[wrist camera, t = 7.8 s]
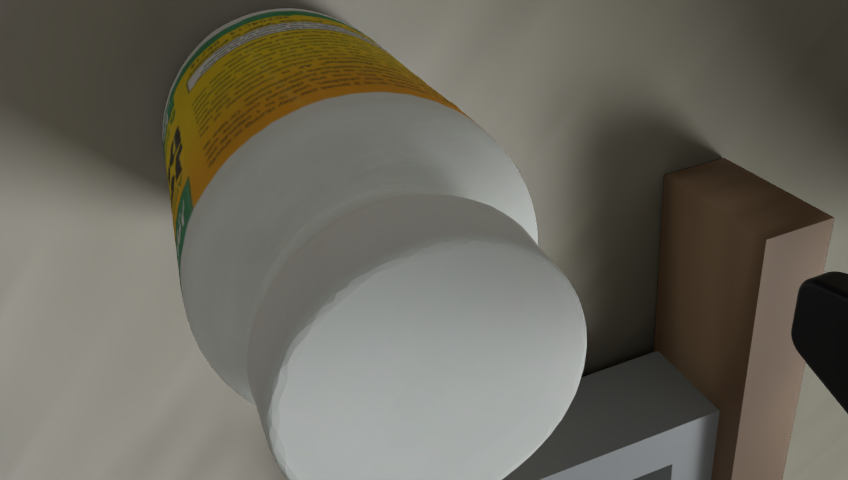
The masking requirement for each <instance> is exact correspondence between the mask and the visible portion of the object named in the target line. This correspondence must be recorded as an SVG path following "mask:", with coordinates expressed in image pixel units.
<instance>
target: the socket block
mask: <svg viewBox="0 0 848 480" xmlns="http://www.w3.org/2000/svg"><path fill="white" fill-rule="evenodd" d="M719 413H720V410H719V409H718V408H717V407H716V406H715V405H714V404H713V403H712V402H711V401H710V400H708V399H707V398H706V397H705V396H704V395H703V394H702V393H701V392H700V391H699V390H698V389H697V388H696V387H695V386H694V385H693V384H692V383H691V382H690V381H689V380H688V379H687V378H686V377H685V376H684V375H683V374H682V373H681V372H680V371H678V370H677V369H676V368H675V367H674V366H673V365H672V364H671V363H670V362H669V361H668V360H667V359H666V358H665V357H664V356H663V355H662V354H661V353H660V352H659V351H655V352H652V353H650V354H647V355H644V356H641V357H638V358H635V359H633V360H630V361H627V362H624V363H621V364H618V365H616V366H613V367H610V368H607V369H604V370H601V371H599V372H596V373H593V374H590V375H587V376H584V377H582V378H581V380H580V383H579V386H578V389H577V391H576V394H575V396H574V398H573V400H572V402H571V404H570V406H569V408H568V410H567V411H566V413H565V415H564V417H563V418H562V420H561V421H560V423H559V424H558V425H557V426H556V428H555V429H554V431H553V432H552V433H551V435H550V436H549V437H548V438H547V439H546V440H545V441H544V443H543V444H542V445H541V446H540V447H539V448H538V449H537V450H536V451H535V452H534V453H533V454H532V455H531V456H530V457H529V458H528V459H527V460H525V461H524V462H523V463H522V464H521V465H520V466H519V467H517V468H516V469H515V470H514V471H512V472H511V473H510V474H508V475H507V476H506V477H505V478H503V479H502V480H711V477H712V469H713V461H714V453H715V445H716V437H717V429H718V421H719Z"/></svg>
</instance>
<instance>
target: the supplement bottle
mask: <svg viewBox="0 0 848 480" xmlns="http://www.w3.org/2000/svg"><path fill="white" fill-rule="evenodd" d="M162 135H163V147H164V156H165V162H166V170H167V178H168V185H169V191H170V201H171V209H172V215H173V226H174V234H175V242H176V249H177V260H178V267H179V276H180V285H181V291H182V297H183V302H184V306H185V310H186V314H187V318H188V321H189V324H190V327H191V330H192V333H193V335H194V337H195V340H196V342H197V344H198V346H199V348H200V350H201V351H202V353H203V354H204V356H205V358H206V359H207V361H208V362H209V364H210V365H211V367H212V368H213V369H214V370H215V371H216V373H217V374H218V375H219V376H220V377H221V379H222V380H223V381H224V382H225V383H226V384H228V385H229V386H230V387H231V388H232V389H233V390H234V391H235V392H237V393H238V394H239V395H240V396H242V397H243V398H245V399H246V400H248V401H249V402H251V403H252V404H254V405H256V406H257V410H258V413H259V416H260V420H261V423H262V427H263V430H264V433H265V436H266V439H267V442H268V445H269V447H270V450H271V452H272V454H273V456H274V459H275V461H276V463H277V464H278V466H279V468H280V469H281V471H282V472H283V474H284V475H285V476H286V478H287V479H288V480H502V479H503V478H505V477H506V476H507V475H508V474H510V473H511V472H512V471H514V470H515V469H516V468H517V467H519V466H520V465H521V464H522V463H523V462H524V461H525V460H527V459H528V458H529V457H530V456H531V455H532V454H533V453H534V452H535V451H536V450H537V449H538V448H539V447H540V446H541V445H542V444H543V443H544V441H545V440H546V439H547V438H548V437H549V436H550V435H551V433H552V432H553V431H554V429H555V428H556V426H557V425H558V424H559V423H560V421H561V420H562V418H563V417H564V415H565V413H566V411H567V410H568V408H569V406H570V404H571V402H572V400H573V398H574V396H575V394H576V391H577V389H578V386H579V383H580V380H581V375H582V372H583V369H584V364H585V357H586V349H587V331H586V323H585V317H584V313H583V310H582V307H581V303H580V301H579V298H578V296H577V294H576V292H575V290H574V288H573V287H572V285H571V283H570V281H569V279H568V278H567V277H566V276H565V275H564V273H563V272H562V271H561V270H560V269H559V268H558V266H557V265H556V264H555V263H554V262H553V261H552V260H551V259H550V258H549V257H548V256H547V255H546V254H545V253H544V252H543V251H542V250H541V249H540V248H539V247H538V232H537V224H536V218H535V212H534V208H533V204H532V200H531V198H530V195H529V192H528V190H527V187H526V185H525V183H524V181H523V179H522V177H521V175H520V172H519V171H518V169H517V168H516V166H515V165H514V163H513V162H512V160H511V159H510V157H509V156H508V155H507V153H506V152H505V151H504V150H503V149H502V147H501V146H500V145H499V144H498V143H497V142H496V141H495V140H494V139H493V138H492V137H491V136H490V135H489V134H488V133H487V132H486V131H485V130H484V129H482V128H481V127H480V126H479V125H478V124H477V123H475V122H474V121H473V120H472V119H471V118H469V117H468V116H467V115H466V114H464V113H463V112H462V111H461V110H460V109H459V108H458V107H457V106H456V105H454V104H453V103H451V102H449V101H448V100H447V99H445V98H444V97H443V96H442V95H440V94H439V93H438V92H436V91H435V90H434V89H432V88H431V87H430V86H428V85H427V84H426V83H425V82H424V81H423V80H421V79H420V78H419V77H418V76H416V75H415V74H413V73H412V72H411V71H410V70H408V69H407V68H406V67H405V66H404V65H402V64H401V63H400V62H399V61H397V60H396V59H395V58H394V57H393V56H392V55H391V54H389V53H388V52H387V51H386V50H384V49H383V48H382V47H380V46H379V45H378V44H377V43H375V42H374V41H373V40H372V39H370V38H369V37H367V36H366V35H365V34H363V33H362V32H360V31H359V30H357V29H356V28H354V27H352V26H351V25H349V24H347V23H345V22H343V21H341V20H339V19H336V18H334V17H331V16H329V15H326V14H322V13H319V12H315V11H310V10H304V9H295V8H278V9H270V10H264V11H259V12H255V13H251V14H248V15H245V16H242V17H240V18H237V19H235V20H233V21H231V22H229V23H227V24H225V25H223V26H221V27H219V28H218V29H216V30H215V31H213V32H212V33H211V34H209V35H208V36H207V37H206V38H205V39H204V40H203V41H202V42H201V43H200V44H199V45H198V46H197V47H196V48H195V49H194V50H193V52H192V53H191V54H190V55H189V56H188V58H187V59H186V61H185V62H184V64H183V66H182V67H181V69H180V70H179V72H178V74H177V76H176V78H175V80H174V82H173V84H172V87H171V89H170V92H169V95H168V99H167V102H166V106H165V111H164V118H163V131H162Z"/></svg>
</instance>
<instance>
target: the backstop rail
mask: <svg viewBox="0 0 848 480" xmlns="http://www.w3.org/2000/svg"><path fill="white" fill-rule="evenodd" d="M833 222H834V217H832V216H830V215H828V214H827V213H825V212H823V211H821V210H819V209H817V208H816V207H814V206H812V205H810V204H808V203H806V202H804V201H803V200H801V199H799V198H797V197H795V196H793V195H792V194H790V193H788V192H786V191H784V190H782V189H780V188H779V187H777V186H775V185H773V184H771V183H769V182H768V181H766V180H764V179H762V178H760V177H758V176H756V175H755V174H753V173H751V172H749V171H747V170H745V169H744V168H742V167H740V166H738V165H736V164H734V163H732V162H731V161H729V160H727V159H725V158H722V159H718V160H715V161H711V162H708V163H705V164H701V165H698V166H694V167H691V168H687V169H684V170H680V171H677V172H673V173H670V174H667V175H664V190H663V207H662V223H661V240H660V257H659V274H658V291H657V308H656V324H655V341H654V352H655V351H659V352H660V353H661V354H662V355H663V356H664V357H665V358H666V359H667V360H668V361H669V362H670V363H671V364H672V365H673V366H674V367H675V368H676V369H677V370H678V371H680V372H681V373H682V374H683V375H684V376H685V377H686V378H687V379H688V380H689V381H690V382H691V383H692V384H693V385H694V386H695V387H696V388H697V389H698V390H699V391H700V392H701V393H702V394H703V395H704V396H705V397H706V398H707V399H708V400H710V401H711V402H712V403H713V404H714V405H715V406H716V407H717V408H718V409H719V410H720V413H719V421H718V429H717V437H716V445H715V453H714V461H713V469H712V477H711V480H782V479H783V474H784V469H785V464H786V459H787V454H788V449H789V443H790V438H791V433H792V428H793V423H794V418H795V413H796V408H797V403H798V398H799V393H800V388H801V383H802V378H803V373H804V368H805V363H806V362H805V360H804V359H803V358H802V357H801V355H800V354H799V353H798V351H797V350H796V348H795V346H794V344H793V341H792V337H791V329H792V323H793V318H794V312H795V307H796V301H797V295H798V291H799V287H800V286H801V284H802V283H803V282H804V281H805V280H807V279H810V278H813V277H816V276H819V275H821V274H823V272H824V267H825V262H826V257H827V252H828V247H829V242H830V237H831V232H832V227H833Z"/></svg>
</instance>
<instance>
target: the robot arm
mask: <svg viewBox="0 0 848 480" xmlns="http://www.w3.org/2000/svg"><path fill="white" fill-rule="evenodd" d="M791 337H792V341H793V344H794V346H795V348H796V350H797V351H798V353H799V354H800V355H801V357H802V358H803V359H804V360H805V362H806V363H807V364H808V365H809V367H810V368H811V369H812V370H813V371H814V373H815V374H816V375H817V376H818V378H819V379H820V380H821V381H822V383H823V384H824V385H825V386H826V387H827V389H828V390H829V391H830V392H831V394H832V395H833V396H834V397H835V399H836V400H837V401H838V402H839V404H840V405H841V406H842V407H843V408H844V410H845V411H846V412H847V413H848V274H846V273H842V272H827V273H824V274H821V275H819V276H816V277H813V278H810V279H807V280H805V281H804V282H803V283H802V284H801V286H800V287H799V291H798V295H797V301H796V307H795V312H794V318H793V323H792V329H791Z"/></svg>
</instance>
